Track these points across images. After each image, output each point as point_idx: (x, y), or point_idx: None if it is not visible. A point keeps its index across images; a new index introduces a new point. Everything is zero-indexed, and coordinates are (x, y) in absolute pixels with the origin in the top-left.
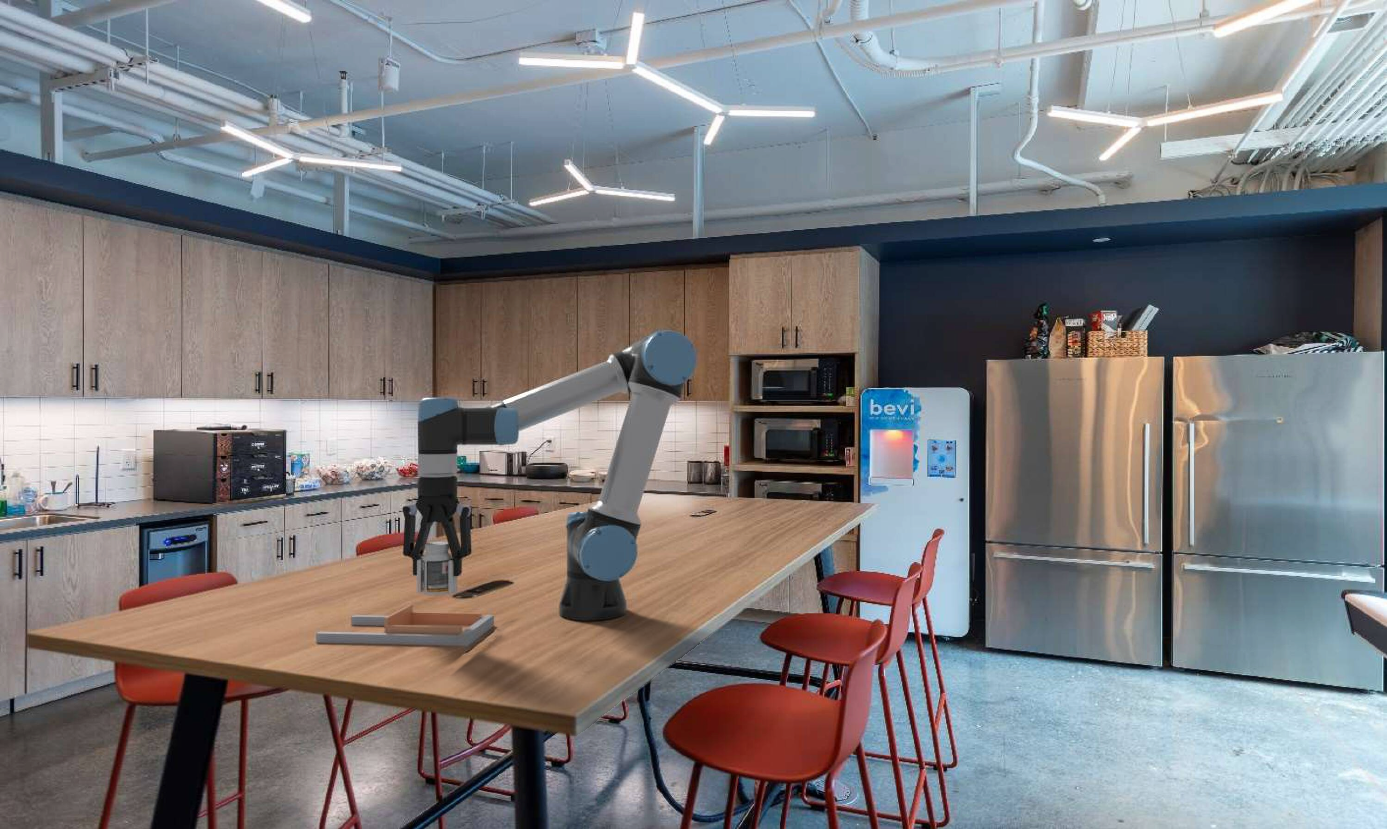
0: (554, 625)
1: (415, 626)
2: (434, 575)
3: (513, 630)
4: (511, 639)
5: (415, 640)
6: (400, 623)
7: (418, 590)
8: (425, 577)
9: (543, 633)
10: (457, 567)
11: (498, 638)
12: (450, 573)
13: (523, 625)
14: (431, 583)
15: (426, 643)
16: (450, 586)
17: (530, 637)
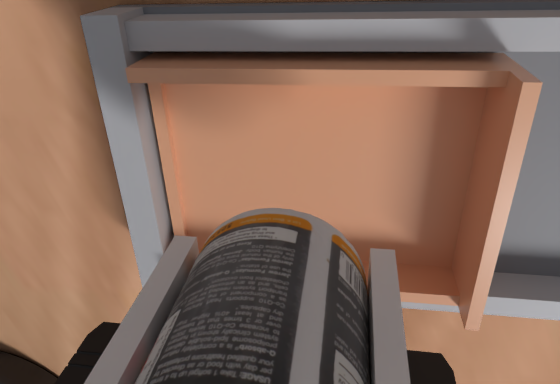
0: (36, 316)
1: (351, 68)
2: (230, 286)
3: (119, 274)
4: (68, 184)
5: (336, 16)
6: (475, 193)
7: (384, 258)
8: (315, 289)
9: (16, 245)
10: (73, 372)
11: (115, 193)
12: (133, 326)
13: (119, 319)
14: (266, 247)
15: (285, 14)
16: (169, 264)
17: (26, 206)
